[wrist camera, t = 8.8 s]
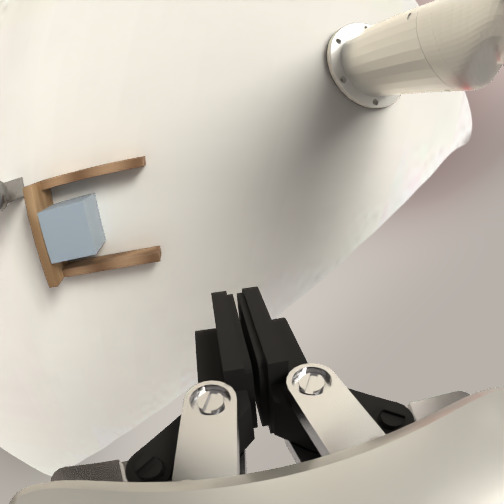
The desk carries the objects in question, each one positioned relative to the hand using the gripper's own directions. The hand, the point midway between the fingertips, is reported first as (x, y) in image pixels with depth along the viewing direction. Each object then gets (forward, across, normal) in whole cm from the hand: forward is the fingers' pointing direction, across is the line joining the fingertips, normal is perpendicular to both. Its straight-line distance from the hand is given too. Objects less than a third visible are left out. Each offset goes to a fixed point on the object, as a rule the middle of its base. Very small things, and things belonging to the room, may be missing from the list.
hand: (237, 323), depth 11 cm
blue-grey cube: (+26, +16, +2) cm, 31 cm away
